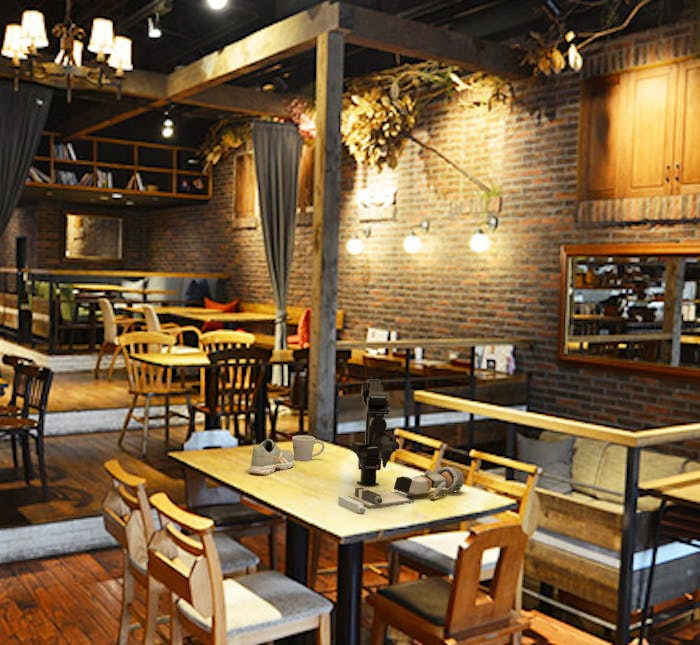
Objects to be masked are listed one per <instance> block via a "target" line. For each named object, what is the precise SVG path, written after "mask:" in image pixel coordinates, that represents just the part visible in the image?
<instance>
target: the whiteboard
mask: <svg viewBox="0 0 700 645" xmlns="http://www.w3.org/2000/svg"><path fill="white" fill-rule="evenodd" d="M376 493H377V494H379V495H380V497H381V498H382V503H380V504H372V503H369V502H367V501H365V500H363V499H360V498H358V497H356V496H355V495H348V497H350V498H352V499H354V500H356V501H358V502H361V503H363V504H364V506H365V508H366V507H367V509H368V510H371V508H373V509H378V508H385V507H392V505H394V506H400V505H399V504H402V505H405V504H404V503H409V504H412V503H411V502H414V500H413V499H410V498H409V497H407V494H405V493H403V492H400V491H398V490H395V491H390V490H389V491H381V492H376ZM414 503H415V502H414Z"/></svg>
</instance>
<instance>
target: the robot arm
mask: <svg viewBox="0 0 700 645" xmlns="http://www.w3.org/2000/svg"><path fill="white" fill-rule="evenodd" d="M360 393H361V394H360V396H361V398H362V402H363V404H364V407H365V430H364V431H365V433H364V434H365V436H364V443H363V442H361V441H359V442H352V443H351V444H350V451H352V452H353V453H355V455H356V457H357V458H358V461H357V462H358V463H357V467H358V471H360V480H359V481H357V484H359V485H362V486H364V487H370V486H371V487H372V486H379V485H380V484H379V483H378V482H377V471H380V470H382V468H383V469H385V468H386V466H387V465H388V462H389V460H390V458H391V456H392V454H394V453H395V452H397V451H398V450H400V443H399V441H397V437H395V436H390V437H387V431H386V429H387V427H388V425H387V422H386V419H385V416H386V415H387V416H388V415H389V413H390V400H389V398H388V397H387V394H386V393H385V392H384V385H383V384H382V383H381V379H377V378H376V379H375V378H374V379H373V378H369V379H367V382H364V383H363V384H362V385H361V392H360ZM380 452H381V455H380Z"/></svg>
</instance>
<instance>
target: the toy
mask: <svg viewBox="0 0 700 645" xmlns="http://www.w3.org/2000/svg"><path fill="white" fill-rule="evenodd" d="M395 479H396V480H395V483H394V487H393V489H394V491H397V492H400V493H402V494H405V495H408V496H414V495H419V494H420V495H421V494H423V493H426V492H427V493H428V492H429V491H430V490H431V489H435V490H434V492H431V493H430V494H429V496H428V497H429V498H430V500H431V499H434V500H435V499H436V497H437V495H438V494H439V493H441V495H443V494H446V493H451V494H452V493H454V492H453V491H456V492H457V493H458V492H459V491H461V490H462V487H463V486H464V482H465V481H464V480H465V478H464V475H463V471H461V470H460V469H459V468H456V467H454V466H444V467H440V468H439V469H437V471H436V472H434V471H431V469H427V470H426V471H425V472H424V474H420V475H416V476H414V477H409V476H399V477H396V478H395ZM444 488H445V489H447V490H446V491H445V490H443V489H444ZM456 492H455V493H456ZM446 495H447V494H446Z"/></svg>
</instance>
